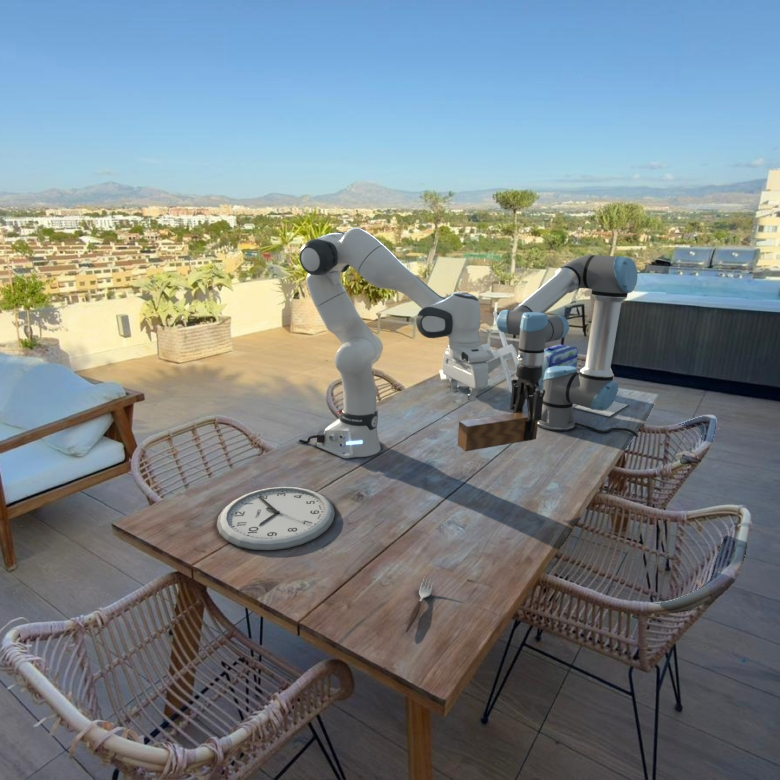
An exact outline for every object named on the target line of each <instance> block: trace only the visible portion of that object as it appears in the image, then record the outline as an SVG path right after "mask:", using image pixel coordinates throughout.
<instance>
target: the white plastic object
mask: <svg viewBox="0 0 780 780" xmlns="http://www.w3.org/2000/svg"><path fill="white" fill-rule="evenodd" d="M492 315H493V319H494V321H495V324H496V325H495V326H496V328H497V332H498V335H499V338H500V342H501V345H502V347H500V348H498V349H496V350H495V349H493V348H492V347H491V346H490V344H489V343H488V342H487V343H483V344H480V345H481V346H482V347H483V348H484V350H485V351H487V352H488V353H489V361H486V362H487V364H488V369H489V371H488V375H489V374H490V373H492V372H494V371H495V370H496V369H497V368H499V367H500V366H502V370H503V373H504V376H505V380H506V383H507V386H508V390H509V393H511V392H512V383H511V380H513V378H512V375H511V371H510V369H509V365H508V361H510V360H513V363H514V366H515V369H516V370H517V365H518V364H519V363H518V362H517V361H518V352H517V349H516V347H515V346H514V345H513V343H511V344H508V341H507V337H506V333H504V332H501V331H500V330H499V329H498V327H497V317H498V315H499V314H498V312H497V311H496V310H495V311H492ZM438 372H439V376H440V381H442V383H443V384H444V385H445V386H449V385H450V386H451V384H450V381H449V377H448V376H446V375H444V374H443V371H442V368H441V369H440V370H439V371H438ZM458 384H462V383H461V382H459V381H457V385H458Z"/></svg>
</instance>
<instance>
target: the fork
mask: <svg viewBox="0 0 780 780" xmlns="http://www.w3.org/2000/svg"><path fill="white" fill-rule="evenodd" d="M435 577H436V576H434V577H433V580H432V577H429V576H427V577H426V574H424V575H423V579H422V581H421V585H420V588H419V589H418V594H419V597H420V598H419V600H418V602H417V604H416V605H415V606H414V608H413V609H412V611H411V615H410V618H409V620H408V621H409V622H408V623H407V627H406V630H405V633H408V632H409V630H410V629H411V627H412V625H413V624H414V621H415V620H416V618H417V617H418V615H419V613H420V608H421V605H422V603H423V602H422V601H423V599H425V598H428V597H430V596H431V595H432V592H433V588H434V583H435ZM425 578H426V581H425ZM429 578H430V579H429ZM428 579H429V582H428ZM431 581H432V583H431ZM424 582H425V583H424Z"/></svg>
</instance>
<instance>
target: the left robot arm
mask: <svg viewBox="0 0 780 780" xmlns="http://www.w3.org/2000/svg"><path fill="white" fill-rule="evenodd" d="M298 259H299V263H300V266H301V268H302V269H303V270H304V271H305V272H306V273H307V275H306V276H305V285H306V288H307V291H308V293H309V296H310V299H311V300H312V303H313V305H314V307H315V309H316V311H317V313H318V315H319V316H320V318H321V320H322V322H323V324H324V326H325V327H326V329H327V330H328V332H330V333H332V334H333V335H334V336H335V337H336V338H337V339H338V341H339V342H340V343H341V345H340V346H339V348H338V349H337V351H336V352H335V355H334V365H335V368H336V369H337V371H338V372H339V375H340V379H341V384H342V396H343V399H342V402H343V404H342V405H343V407H342V408H341V409H340V410H338V411H337V412H336V413H337V414H336V415H337V416H338V415H339V417H338V418H337V419H336V420H334V421H333V422H331V423H330V424H329V425H328V426H326V427H325V429H324V430H318V431H317V434H314V435H310V436H308V437H307V439H306V440H304V439H299V441H298V442H299V443H301V444H302V443H303V444H309V443H310V442H311V439H316V447H317V448H319V449H322V450H324V451H326V452H329V453H331V454H333V455H335V456H338V457H340V458H343V459H352V458H364V457H365V458H366V457H371V456H374V455H376V454H378V453H380V452H381V450H382V446H381V444H380V440H379V434H378V424H379V423H378V422H379V414H378V413H379V411H378V408H377V402H378V401H377V394H378V393H377V390H378V389H377V385H376V384H375V380H374V376H373V367H374V365H375V364H376V363H377V362H378V361H379V360H380V359H381V357H382V354H383V351H384V345H383V342H382V340H381V338H380V337H379V336H378V335H376V334H375V333H374V332H373V331H372V330H371V328H370V327H369V326H368V324H367V323H366V322H365V321H364V319H363V318H362V316H361V315H360V314H359V312H358V310H357V309H356V307H355V305H354V303H353V301H352V299H351V298H350V296H349V294H348V292H347V290H346V288H345V286H344V285H343V283H342V281H341V273H345V272H347V270H348V269H349V268H350V267H351V268H352V269H353V270H354V271H355V272H356V273H357V274H358V275H360V277H361V278H363V280H365V281H366V282H367V283H369V284H370V285H372V286H373V287H375V288H377V289H382V290H389V291H395V292H399V293H402V294H403V295H405V296H406V297H408V299H410V300H412V302H413V303H414V304H416V305H417V306H418V307H419V308H421V309H420V311H418V313H417V315H416V318H415V324H416V328H417V330H418V332H419V333H420V335H422V336H423V337H425V338H427V339H439V338H445V337H448V345H447V346H446V348H445V351H444V353H443V356H442V364H441V369H442V371H443V374H444V375H446V376H448V377H449V381H450V389H451V392H452V393H454V394H456V393H459V392H460V390H459V389H460V386H459V385H458V384H457V381H459V382H461V383H460V384H463V385H465V386H467V387H469V391H470V392H469V394H467V400H468V401H469V402H475V401H476V399H477V397H476V396H477V394H478V392H479V390H484V389H486V388H487V387H488V385H489V374H488V371H489V369H488V364H487V362H486V361H489V353H488V352H487V351H485V350H484V348H483V347H482V346H481V345H482V344H481V338H480V328H481V322H482V321H481V320H482V319H481V305H480V301H479V300H480V299H479V298H478V297H477V296H476V295H474V294H472V293H467V292H461V291H460V292H453V293H452V294H451V295H449V296H448V297H443V296H442V295H439V294H438V293H437V292H436V291H435V290H433V289H432V288H431V287H430V286H428V285H427V284H426V283H425V282H424V281H423V280H422V279H420V278H419V277H418V276H416V274H414V273H413V272H412V271H410V269H409V268H408V267H407V266H406V265H405V264H404V263H402V262H401V261H400V260H399V259H398V258H397V257H396V256H395V254H393V253H392V251H390V250H389V249H388V247H386V246H385V245H384V244H383V243H382V242H381V241H379V240H378V238H376V237H375V236H373V235H372V234H371V233H369V232H367V231H366V230H365V229H362V228H360V227H353V228H350V229H348V230H347V231H346V232H345V231H337V232H333V233H327V234H324V235H321V236H319V237H315V238H311V239H309V240H308V241H306V242H305V243H304V244H302V246H301V247H300V249H299V252H298Z"/></svg>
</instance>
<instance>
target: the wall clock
mask: <svg viewBox="0 0 780 780" xmlns="http://www.w3.org/2000/svg"><path fill="white" fill-rule="evenodd" d="M335 516H336V513H335V509H334V505H333V504H332V503H331V502H330V500H329V499H328V498H327V497H325V496H323V495H322V494H321V493H319V492H316V491H313V490H311V489H307V488H302V487H296V486H279V487H278V486H277V487H267V488H263V489H258V490H255V491H251V492H249V493H246V494H243V495H242V496H240V497H238V498H235V499H234V500H232V501H231V502H230V503H228V505H226V506H225V507H223V509H222V510H221V512H220V514H219V515H218V517H217V521H216V529H217V531H218V533H219V535H220V536H221V537H222V538H223V539H224V540H225V541H226V542H227V543H230V544H233V545H235V546H236V547H239V548H244V549H249V550H257V551H274V550H285V549H289V548H292V547H297V546H301V545H304V544H306V543H308V542H310V541H312V540H315V539H317V538H318V537H319V536H321V535H323V534H324V533H325V532H326V531H328V529H329V528H330V527H331V525H332V524H333V522H334V518H335Z"/></svg>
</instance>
